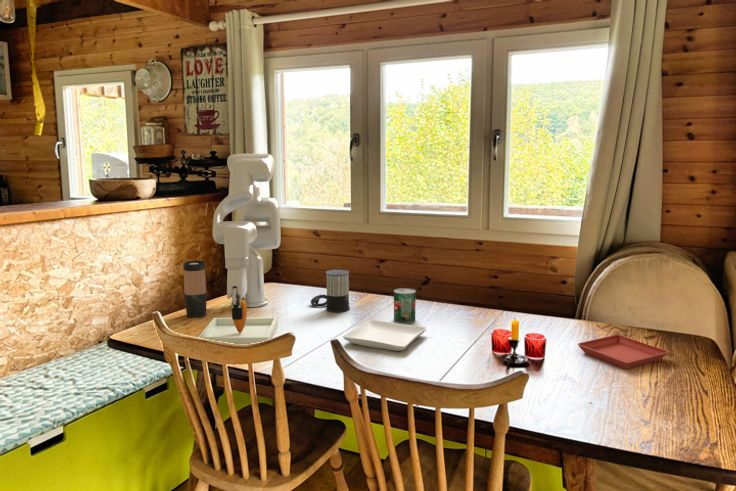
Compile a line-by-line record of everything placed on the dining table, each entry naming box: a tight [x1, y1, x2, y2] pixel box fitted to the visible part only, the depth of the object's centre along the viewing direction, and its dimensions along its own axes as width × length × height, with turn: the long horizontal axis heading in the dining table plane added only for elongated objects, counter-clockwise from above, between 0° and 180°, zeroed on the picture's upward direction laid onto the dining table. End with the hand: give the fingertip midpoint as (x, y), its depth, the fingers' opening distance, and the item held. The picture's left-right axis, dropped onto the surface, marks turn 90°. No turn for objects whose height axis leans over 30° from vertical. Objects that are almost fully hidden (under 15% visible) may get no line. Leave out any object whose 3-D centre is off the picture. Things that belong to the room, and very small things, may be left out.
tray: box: [197, 316, 279, 344], centre depth 189 cm, size 22×22×3 cm
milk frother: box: [310, 269, 351, 313], centre depth 223 cm, size 14×16×15 cm
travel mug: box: [182, 260, 207, 319], centre depth 212 cm, size 8×8×20 cm
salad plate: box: [342, 319, 427, 352], centre depth 184 cm, size 21×21×3 cm
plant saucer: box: [577, 334, 669, 370], centre depth 169 cm, size 18×18×3 cm
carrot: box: [230, 296, 248, 333], centre depth 188 cm, size 5×5×15 cm
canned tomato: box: [393, 287, 417, 325], centre depth 206 cm, size 8×8×11 cm
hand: (239, 316), depth 188 cm, fingers open, 5 cm apart
